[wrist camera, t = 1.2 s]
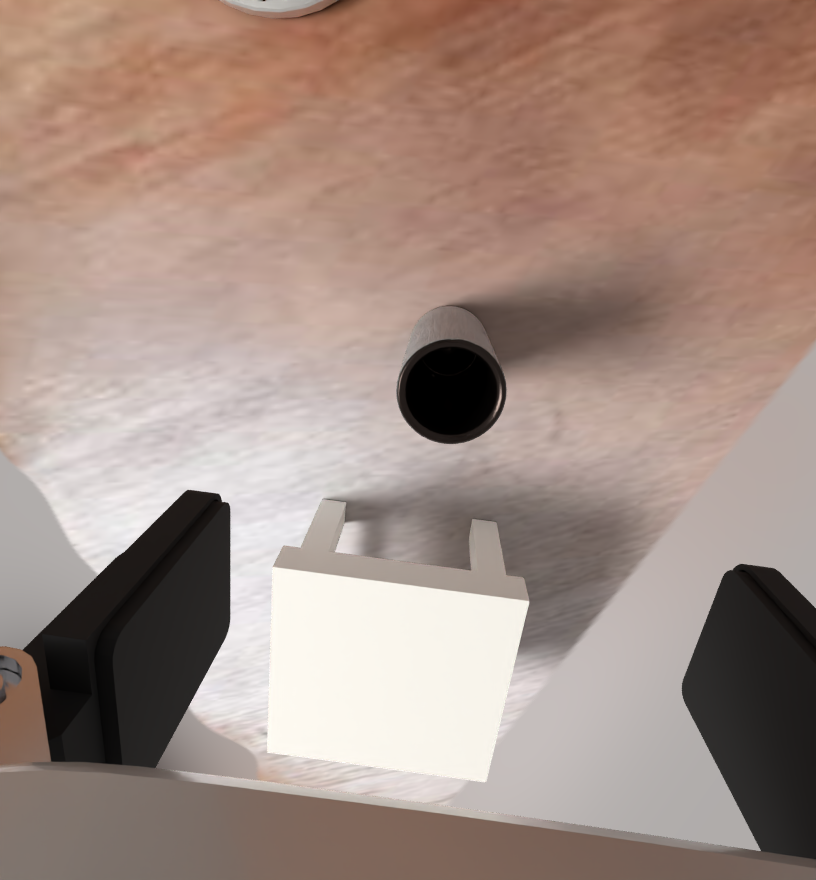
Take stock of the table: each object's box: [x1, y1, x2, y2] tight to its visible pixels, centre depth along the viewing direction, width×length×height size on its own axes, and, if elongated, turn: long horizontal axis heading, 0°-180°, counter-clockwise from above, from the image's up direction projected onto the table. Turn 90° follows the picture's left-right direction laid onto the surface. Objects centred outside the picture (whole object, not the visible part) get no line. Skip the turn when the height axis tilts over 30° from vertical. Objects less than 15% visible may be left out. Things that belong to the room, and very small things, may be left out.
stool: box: [267, 499, 529, 782], centre depth 34 cm, size 13×13×9 cm
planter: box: [396, 306, 506, 444], centre depth 27 cm, size 4×4×10 cm
